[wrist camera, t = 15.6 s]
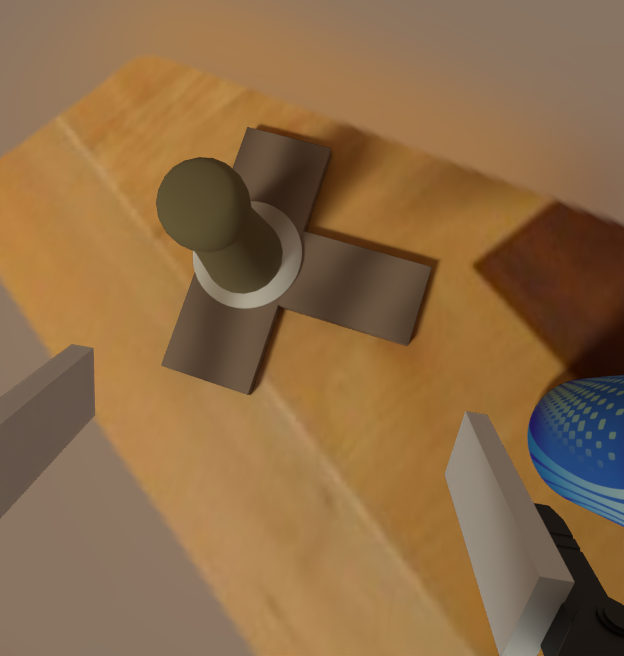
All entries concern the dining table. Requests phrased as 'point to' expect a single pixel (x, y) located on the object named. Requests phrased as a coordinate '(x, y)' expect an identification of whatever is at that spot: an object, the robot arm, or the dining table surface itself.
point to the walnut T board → (290, 274)
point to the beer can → (582, 443)
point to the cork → (219, 224)
